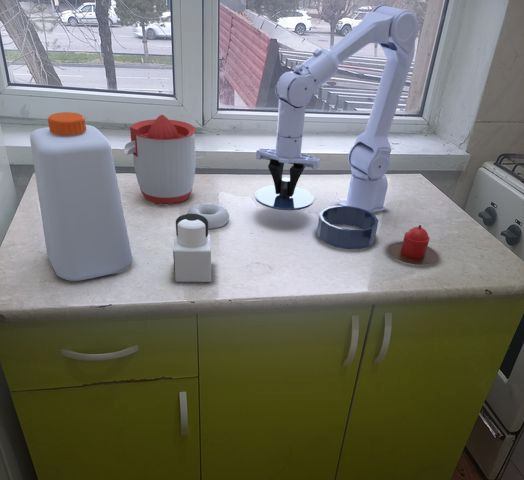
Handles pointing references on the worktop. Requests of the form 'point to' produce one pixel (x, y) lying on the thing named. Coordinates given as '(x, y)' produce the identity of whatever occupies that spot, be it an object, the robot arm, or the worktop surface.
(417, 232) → the red rubber stopper
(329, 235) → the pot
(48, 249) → the plastic bottle
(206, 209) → the donut
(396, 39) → the robot arm
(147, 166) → the citrus juicer
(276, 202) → the lid
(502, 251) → the worktop surface
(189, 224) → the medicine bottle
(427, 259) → the coaster
